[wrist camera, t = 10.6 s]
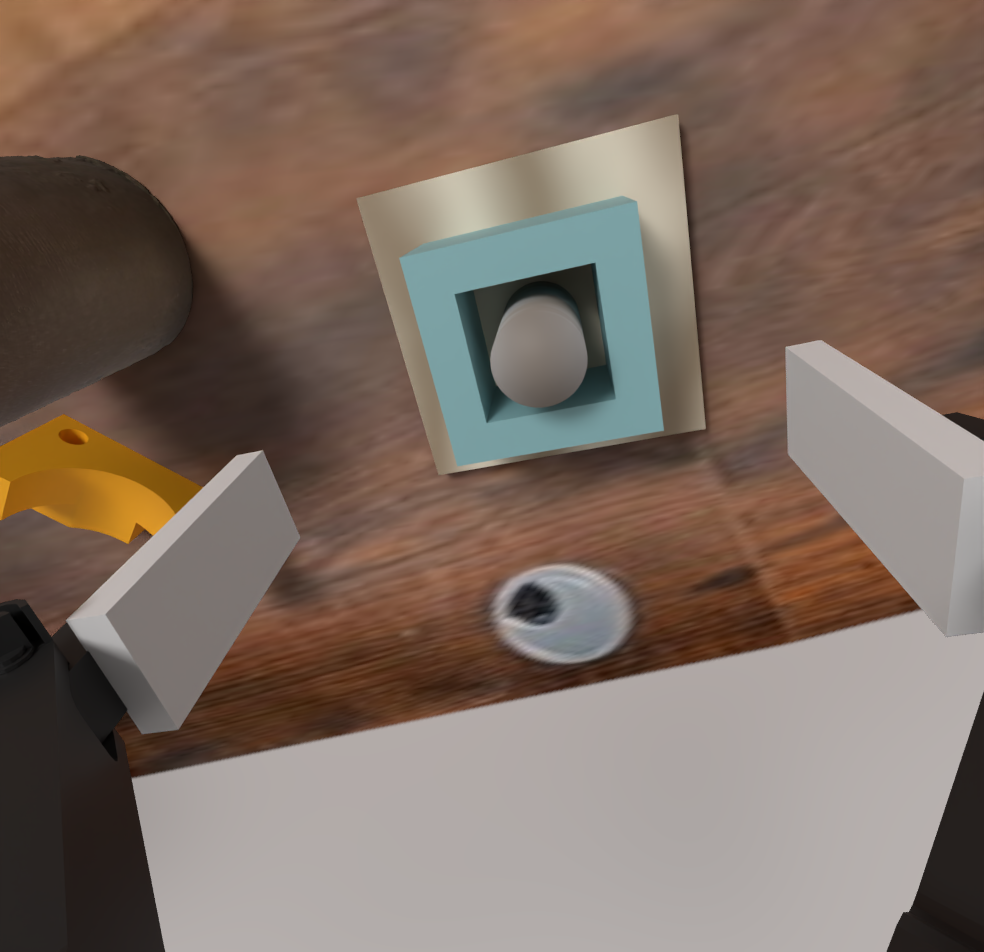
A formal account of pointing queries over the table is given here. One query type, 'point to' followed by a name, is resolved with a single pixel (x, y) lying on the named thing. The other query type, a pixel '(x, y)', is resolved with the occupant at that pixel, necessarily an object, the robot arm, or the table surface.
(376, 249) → the post block
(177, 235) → the pillar candle
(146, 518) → the pipe clamp
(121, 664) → the robot arm
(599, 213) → the collar
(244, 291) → the table surface
